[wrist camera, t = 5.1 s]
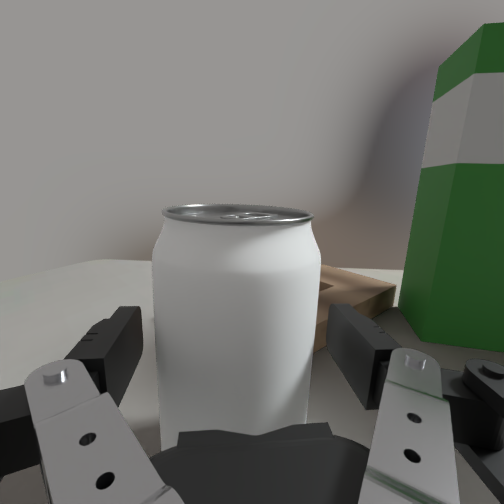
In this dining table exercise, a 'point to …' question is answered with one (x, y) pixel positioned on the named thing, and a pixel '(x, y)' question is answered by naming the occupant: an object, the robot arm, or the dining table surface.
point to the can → (234, 318)
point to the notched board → (349, 297)
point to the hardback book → (461, 204)
